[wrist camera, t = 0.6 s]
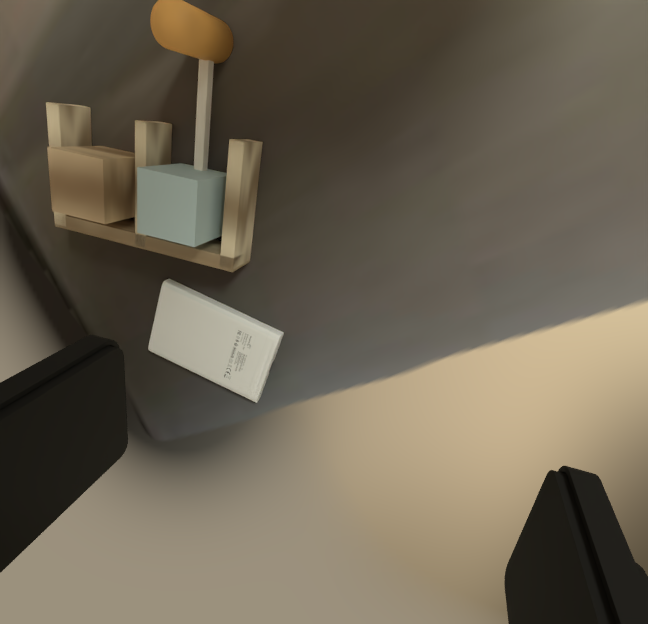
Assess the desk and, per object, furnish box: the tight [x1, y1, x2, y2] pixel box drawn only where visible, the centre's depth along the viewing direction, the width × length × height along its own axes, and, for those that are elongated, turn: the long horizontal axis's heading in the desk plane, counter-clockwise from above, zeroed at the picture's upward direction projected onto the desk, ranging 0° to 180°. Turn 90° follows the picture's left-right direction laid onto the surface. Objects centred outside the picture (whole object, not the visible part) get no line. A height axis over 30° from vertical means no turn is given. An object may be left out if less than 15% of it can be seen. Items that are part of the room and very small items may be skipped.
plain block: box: [47, 146, 135, 224], centre depth 38 cm, size 5×5×6 cm
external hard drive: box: [148, 278, 284, 403], centre depth 44 cm, size 2×8×12 cm
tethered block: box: [137, 0, 233, 247], centre depth 34 cm, size 16×5×6 cm, turn 170°
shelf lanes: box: [46, 102, 263, 272], centre depth 38 cm, size 10×17×4 cm, turn 80°
